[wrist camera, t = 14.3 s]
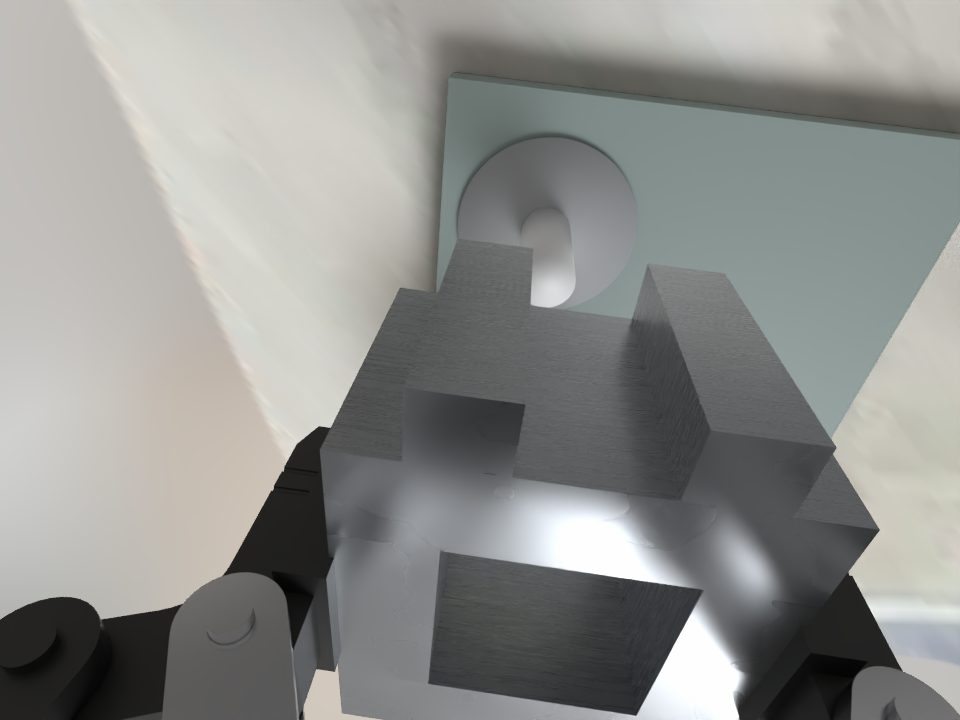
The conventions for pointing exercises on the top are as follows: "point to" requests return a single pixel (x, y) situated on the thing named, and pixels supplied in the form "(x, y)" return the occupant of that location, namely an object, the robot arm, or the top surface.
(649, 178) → the gear board
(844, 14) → the top surface
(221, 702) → the robot arm
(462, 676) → the grey hollow block
